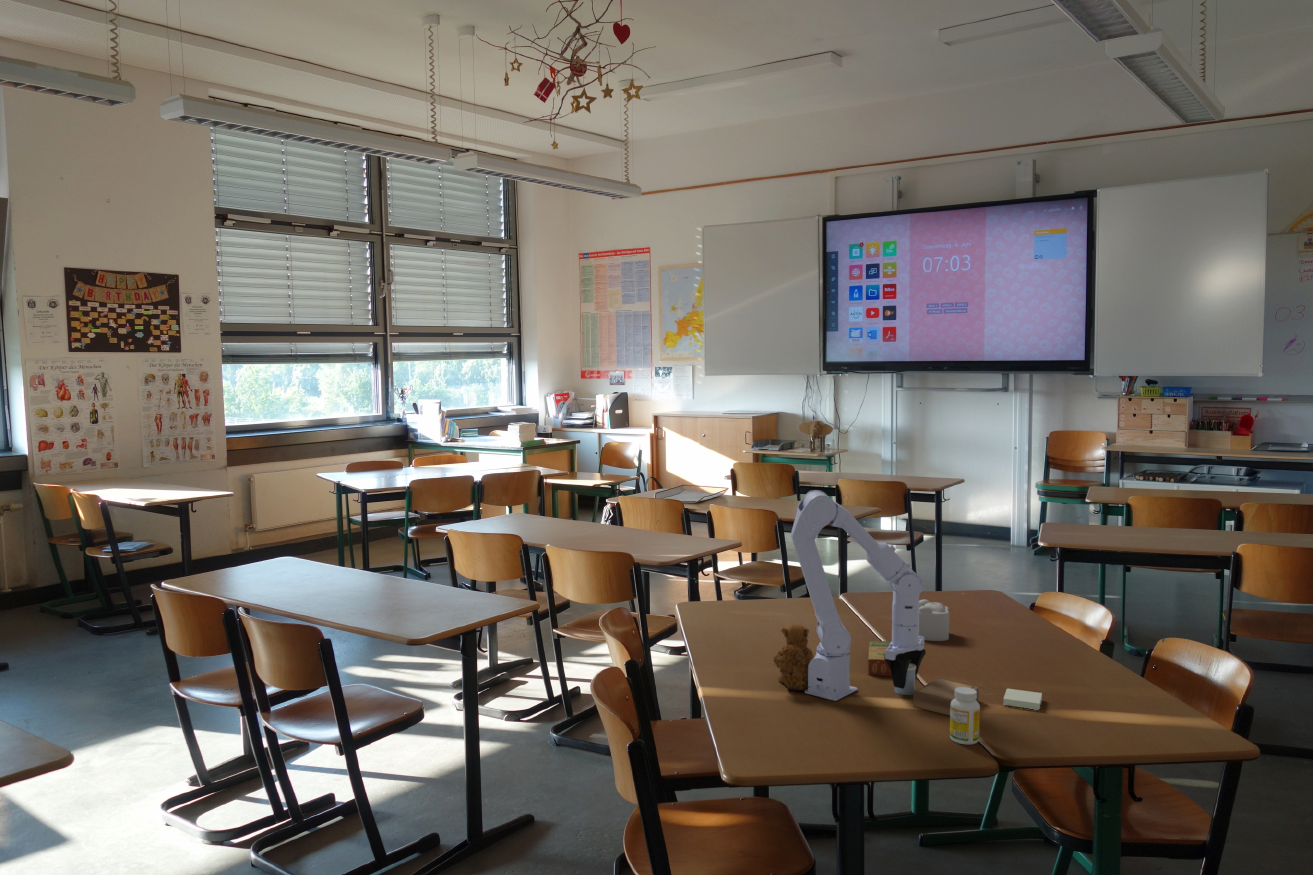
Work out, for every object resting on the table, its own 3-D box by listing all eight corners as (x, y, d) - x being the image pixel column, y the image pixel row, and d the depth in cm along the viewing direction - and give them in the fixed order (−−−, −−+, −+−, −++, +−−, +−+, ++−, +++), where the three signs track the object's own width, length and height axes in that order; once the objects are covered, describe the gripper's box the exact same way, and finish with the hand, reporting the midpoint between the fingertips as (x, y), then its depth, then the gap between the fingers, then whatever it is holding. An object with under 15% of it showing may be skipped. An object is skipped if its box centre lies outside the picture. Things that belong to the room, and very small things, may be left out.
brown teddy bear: (823, 677, 214) (824, 620, 213) (814, 697, 201) (814, 637, 200) (780, 672, 217) (780, 617, 216) (768, 692, 204) (768, 633, 203)
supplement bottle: (956, 745, 174) (957, 695, 174) (945, 734, 180) (945, 686, 179) (984, 744, 175) (985, 694, 174) (971, 733, 180) (972, 685, 179)
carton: (867, 676, 215) (867, 658, 215) (868, 655, 231) (868, 638, 231) (904, 678, 213) (904, 660, 213) (903, 657, 229) (903, 640, 229)
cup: (909, 696, 200) (909, 669, 200) (889, 691, 204) (890, 665, 203) (919, 691, 204) (919, 664, 204) (899, 686, 207) (900, 660, 207)
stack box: (954, 716, 189) (954, 701, 189) (913, 706, 195) (913, 691, 195) (978, 700, 198) (978, 686, 198) (938, 691, 204) (938, 677, 204)
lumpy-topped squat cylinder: (949, 641, 241) (949, 609, 240) (897, 638, 245) (897, 605, 244) (947, 631, 251) (948, 599, 250) (898, 627, 255) (898, 596, 254)
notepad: (1039, 712, 192) (1039, 703, 192) (1003, 707, 195) (1003, 698, 195) (1041, 702, 198) (1041, 692, 198) (1006, 697, 201) (1006, 688, 201)
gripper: (906, 633, 195) (906, 697, 196) (937, 619, 205) (936, 679, 206) (876, 627, 199) (875, 689, 200) (908, 614, 210) (907, 673, 211)
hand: (904, 684), depth 204 cm, fingers closed on cup, 4 cm apart
